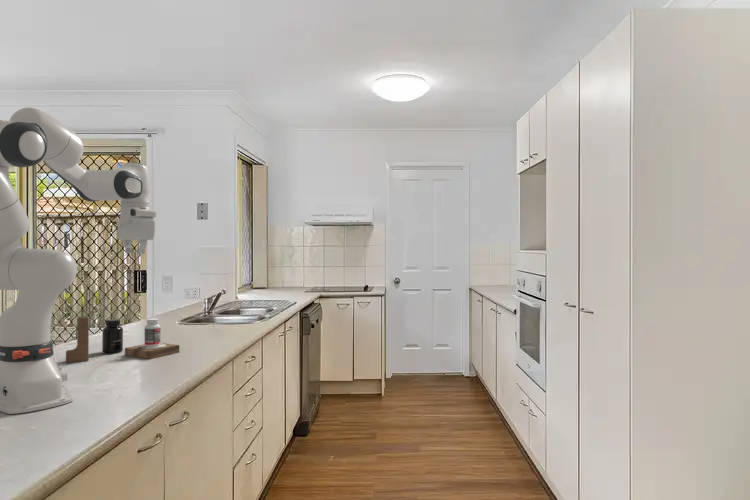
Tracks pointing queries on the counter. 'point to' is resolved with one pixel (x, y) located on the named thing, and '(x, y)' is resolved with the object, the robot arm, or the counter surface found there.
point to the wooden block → (80, 342)
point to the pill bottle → (152, 333)
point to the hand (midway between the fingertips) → (134, 253)
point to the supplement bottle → (112, 337)
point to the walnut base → (151, 350)
